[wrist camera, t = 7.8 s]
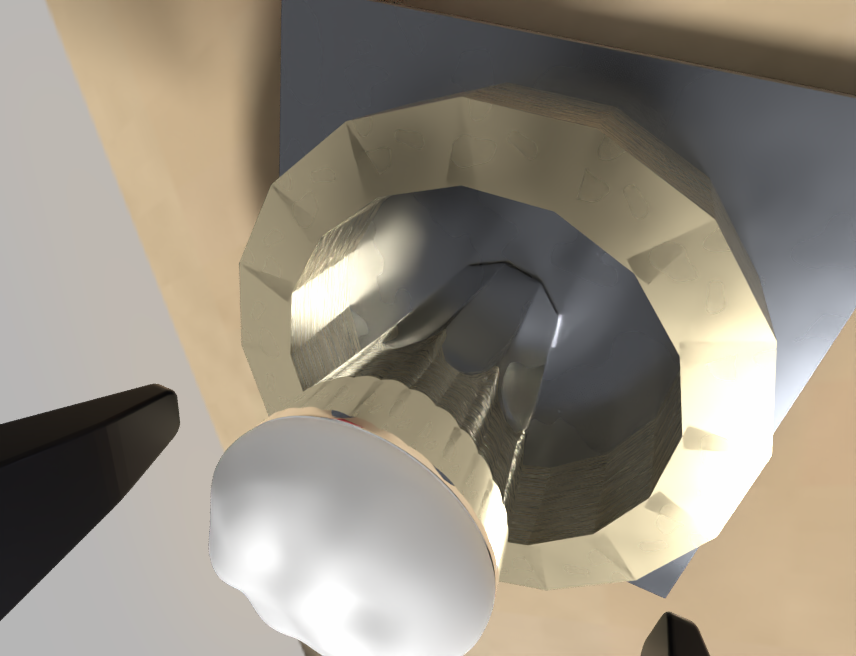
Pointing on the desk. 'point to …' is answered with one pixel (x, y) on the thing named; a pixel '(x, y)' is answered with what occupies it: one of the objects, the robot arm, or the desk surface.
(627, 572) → the collar station
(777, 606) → the desk surface
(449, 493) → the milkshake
